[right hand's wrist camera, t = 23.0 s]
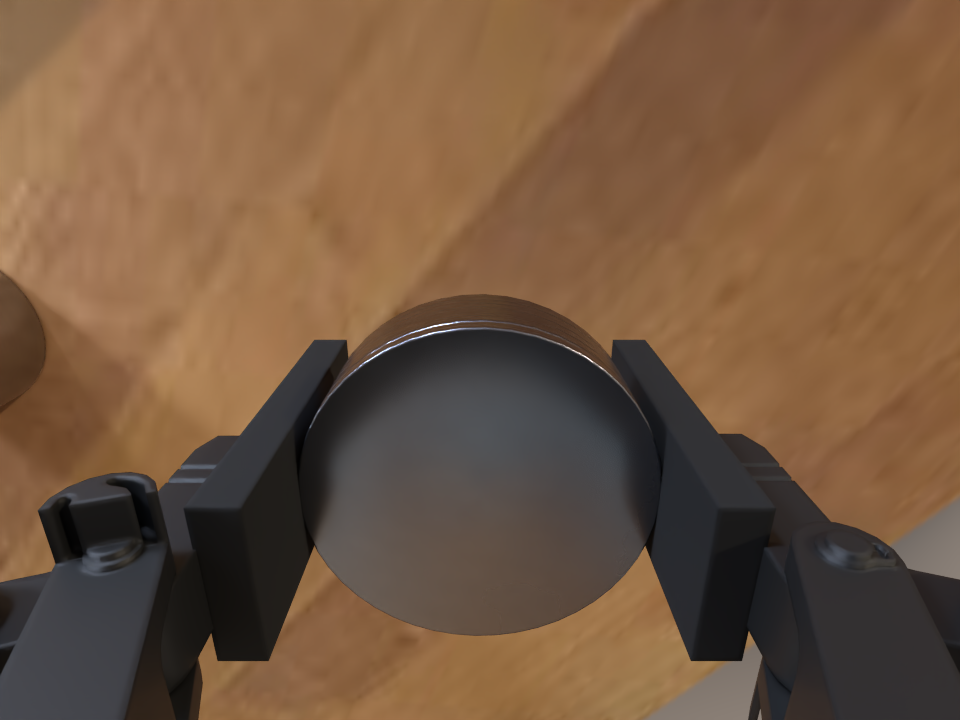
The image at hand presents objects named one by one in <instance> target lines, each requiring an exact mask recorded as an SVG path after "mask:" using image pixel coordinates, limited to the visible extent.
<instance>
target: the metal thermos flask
mask: <svg viewBox="0 0 960 720" xmlns="http://www.w3.org/2000/svg"><path fill="white" fill-rule="evenodd" d="M44 360H45V338H44V334H43V329H42V326H41V324H40V321H39V318H38V316H37V314H36V312H35V310H34V308H33V307H32V305H31V304H30V302H29V301H28V299H27V298H26V296H25V295H24V294H23V293H22V291H21V290H20V289H19V288H18V287H17V286H16V285H15V284H14V283H13V282H12V281H11V280H10V279H9V278H8V277H7V276H6V275H4V274H3V273H2V272H1V271H0V407H1V406H3V405H4V404H6V403H8V402H10V401H11V400H13V399H15V398H16V397H18V396H20V395H21V394H23V393H24V392H25V391H27V390H28V389H29V388H30V387H31V386H32V385H33V384H34V383H35V381H36V380H37V378H38V377H39V375H40V372H41V370H42V368H43V364H44Z"/></svg>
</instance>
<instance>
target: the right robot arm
mask: <svg viewBox="0 0 960 720" xmlns="http://www.w3.org/2000/svg"><path fill="white" fill-rule="evenodd" d="M611 359H612V360H613V362H614V364H615V365H616V367H617V369H618V370H619V372H620V374H621V376H622V377H623V379H624V381H625V383H626V384H627V386H628V388H629V390H630V391H631V393H632V395H633V397H634V398H635V400H636V402H637V404H638V405H639V407H640V409H641V411H642V412H643V414H644V416H645V418H646V419H647V421H648V423H649V425H650V428H651V431H652V433H653V436H654V438H655V441H656V444H657V449H658V453H659V458H660V462H661V490H660V498H659V505H658V512H657V517H656V521H655V524H654V527H653V529H652V532H651V534H650V536H649V539H648V541H647V543H646V545H645V546H646V549H647V551H648V554H649V556H650V559H651V561H652V564H653V566H654V569H655V571H656V574H657V576H658V579H659V581H660V584H661V586H662V589H663V591H664V594H665V596H666V599H667V602H668V604H669V607H670V609H671V612H672V614H673V617H674V619H675V622H676V624H677V627H678V629H679V632H680V634H681V637H682V639H683V642H684V644H685V647H686V649H687V652H688V655H689V657H690V660H691V661H742V658H743V654H744V649H745V645H746V640H747V636H748V632H750V634H751V636H752V637H753V639H754V641H755V643H756V645H757V647H758V649H759V650H760V652H761V654H762V660H761V665H760V669H759V673H758V677H757V681H756V685H755V689H754V694H753V698H752V702H751V706H750V712H749V718H748V720H757V719H758V715H759V711H760V709H761V715H762V720H960V580H959V579H954V578H949V577H944V576H939V575H934V574H929V573H924V572H919V571H915V570H911V569H907V567H906V565H905V563H904V562H903V560H902V559H901V558H900V557H899V555H898V554H897V553H896V552H895V550H894V549H892V548H891V547H889V546H888V545H887V544H885V543H884V542H883V541H881V540H880V539H878V538H877V537H875V536H873V535H870V534H868V533H866V532H864V531H862V530H860V529H857V528H854V527H851V526H847V525H843V524H840V523H836V522H831V521H830V520H829V519H828V518H827V517H826V516H825V515H824V514H823V512H822V511H821V510H820V509H819V508H818V507H817V506H816V505H815V504H814V502H813V501H812V500H811V499H810V498H809V497H808V496H807V495H806V493H805V492H804V491H803V490H802V489H801V488H800V487H799V486H798V484H797V483H796V482H795V481H791V477H790V475H789V474H788V473H787V472H786V471H785V470H784V469H783V468H782V467H779V463H778V462H777V461H776V460H775V459H774V458H773V456H772V455H771V454H770V453H769V452H768V451H767V450H766V449H765V448H764V447H763V446H761V445H759V444H758V443H756V442H754V441H753V440H751V439H749V438H748V437H746V436H744V435H743V434H718V433H717V432H716V430H715V429H714V428H713V426H712V425H711V424H710V423H709V421H708V420H707V419H706V417H705V416H704V415H703V414H702V412H701V411H700V410H699V408H698V407H697V406H696V405H695V403H694V402H693V401H692V399H691V398H690V397H689V396H688V394H687V393H686V392H685V390H684V389H683V388H682V387H681V385H680V384H679V383H678V382H677V380H676V379H675V378H674V376H673V375H672V374H671V373H670V371H669V370H668V369H667V367H666V366H665V365H664V364H663V362H662V361H661V360H660V358H659V357H658V356H657V355H656V353H655V352H654V351H653V349H652V348H651V347H650V346H649V344H648V343H647V342H646V341H645V340H613V346H612V357H611ZM347 360H348V350H347V340H314V341H313V343H312V344H311V345H310V346H309V348H308V349H307V350H306V352H305V353H304V354H303V355H302V357H301V358H300V359H299V361H298V362H297V363H296V364H295V366H294V367H293V368H292V370H291V371H290V372H289V373H288V375H287V376H286V377H285V378H284V380H283V381H282V382H281V384H280V385H279V386H278V387H277V389H276V390H275V391H274V393H273V394H272V395H271V396H270V398H269V399H268V400H267V402H266V403H265V404H264V405H263V407H262V408H261V409H260V410H259V412H258V413H257V414H256V416H255V417H254V418H253V419H252V421H251V422H250V423H249V425H248V426H247V427H246V428H245V430H244V431H243V432H242V434H241V435H240V436H217V437H216V438H214V439H212V440H211V441H209V442H207V443H206V444H204V445H202V446H201V447H199V448H197V449H196V450H195V451H194V452H193V453H192V454H191V455H190V456H189V457H188V458H187V460H186V461H185V462H184V463H183V464H182V465H181V469H178V470H177V471H176V472H175V473H174V474H173V475H172V477H171V478H170V479H169V483H165V484H164V486H163V487H162V488H161V489H160V490H159V491H157V487H156V483H155V481H154V480H152V479H151V478H150V477H148V476H147V475H144V474H138V473H132V472H127V473H111V474H107V475H103V476H98V477H94V478H90V479H87V480H84V481H82V482H79V483H77V484H74V485H72V486H69V487H67V488H65V489H64V490H62V491H61V492H59V493H57V494H56V495H54V496H52V497H51V498H49V499H48V500H47V501H46V502H45V503H44V505H43V506H42V507H41V508H40V509H39V510H38V513H39V516H40V519H41V522H42V525H43V528H44V531H45V533H46V536H47V539H48V542H49V545H50V548H51V551H52V554H53V557H54V560H55V563H56V564H55V566H54V568H53V570H52V571H51V572H48V573H44V574H39V575H34V576H29V577H24V578H19V579H15V580H10V581H5V582H0V720H198V716H199V708H200V700H201V692H202V684H203V682H202V675H201V669H200V665H199V660H198V657H199V655H200V653H201V651H202V649H203V647H204V645H205V643H206V642H207V640H208V638H209V636H210V634H211V633H212V638H213V642H214V647H215V651H216V656H217V660H218V661H269V659H270V656H271V654H272V651H273V649H274V646H275V643H276V641H277V638H278V636H279V633H280V631H281V628H282V626H283V623H284V621H285V618H286V616H287V613H288V611H289V608H290V606H291V603H292V601H293V598H294V596H295V593H296V591H297V588H298V585H299V583H300V580H301V578H302V575H303V573H304V570H305V568H306V565H307V563H308V560H309V558H310V555H311V553H312V550H313V548H314V543H313V541H312V539H311V537H310V535H309V533H308V530H307V527H306V524H305V521H304V519H303V514H302V507H301V500H300V493H299V485H298V470H299V462H300V455H301V450H302V447H303V444H304V440H305V437H306V434H307V431H308V429H309V427H310V425H311V423H312V421H313V419H314V417H315V415H316V413H317V411H318V409H319V407H320V406H321V404H322V402H323V400H324V399H325V397H326V395H327V394H328V392H329V390H330V388H331V387H332V385H333V383H334V381H335V380H336V378H337V376H338V374H339V373H340V371H341V369H342V368H343V366H344V365H345V363H346V362H347Z"/></svg>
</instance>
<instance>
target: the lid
mask: <svg viewBox="0 0 960 720" xmlns="http://www.w3.org/2000/svg"><path fill="white" fill-rule="evenodd" d="M298 485H299V493H300V500H301V507H302V514H303V519H304V521H305V524H306V527H307V530H308V533H309V535H310V537H311V539H312V541H313V543H314V545H315V547H316V549H317V551H318V553H319V554H320V555H321V557H322V558H323V560H324V561H325V563H326V564H327V566H328V567H329V568H330V569H331V570H332V572H333V573H334V574H335V575H336V576H337V577H338V578H339V579H340V580H341V582H342V583H343V584H345V585H346V586H347V587H348V588H349V589H350V590H352V591H353V592H354V593H355V594H356V595H357V596H359V597H360V598H362V599H363V600H365V601H366V602H368V603H369V604H371V605H372V606H373V607H375V608H377V609H379V610H381V611H383V612H384V613H386V614H388V615H390V616H392V617H394V618H397V619H399V620H402V621H404V622H407V623H409V624H412V625H415V626H419V627H422V628H426V629H429V630H433V631H439V632H445V633H450V634H459V635H473V636H480V635H501V634H509V633H517V632H521V631H526V630H530V629H534V628H538V627H541V626H544V625H547V624H550V623H553V622H556V621H559V620H561V619H563V618H565V617H567V616H569V615H571V614H574V613H576V612H578V611H579V610H581V609H583V608H584V607H586V606H588V605H589V604H591V603H593V602H594V601H595V600H597V599H598V598H599V597H601V596H602V595H603V594H605V593H606V592H607V591H608V590H610V589H611V588H612V587H613V586H614V585H615V584H616V583H617V582H618V581H619V580H620V579H621V578H622V577H623V576H624V575H625V574H626V573H627V571H628V570H629V569H630V567H631V566H632V565H633V564H634V562H635V561H636V560H637V558H638V557H639V555H640V553H641V552H642V550H643V548H644V547H645V545H646V543H647V541H648V539H649V536H650V534H651V532H652V529H653V527H654V524H655V521H656V517H657V512H658V505H659V498H660V490H661V462H660V458H659V453H658V449H657V444H656V441H655V438H654V436H653V433H652V431H651V428H650V425H649V423H648V421H647V419H646V418H645V416H644V414H643V412H642V411H641V409H640V407H639V405H638V404H637V402H636V400H635V398H634V397H633V395H632V393H631V391H630V390H629V388H628V386H627V384H626V383H625V381H624V379H623V377H622V376H621V374H620V372H619V370H618V369H617V367H616V365H615V364H614V362H613V360H612V359H611V358H610V356H609V355H608V354H607V353H606V351H605V350H604V349H603V348H602V346H601V345H600V344H599V343H598V342H597V341H596V340H595V339H594V338H593V337H591V336H590V335H589V334H588V333H587V332H586V331H585V330H584V329H582V328H581V327H579V326H578V325H577V324H575V323H574V322H572V321H571V320H570V319H568V318H566V317H564V316H562V315H560V314H558V313H557V312H555V311H553V310H551V309H549V308H546V307H543V306H541V305H538V304H535V303H532V302H530V301H526V300H521V299H517V298H512V297H508V296H498V295H487V294H479V295H460V296H454V297H448V298H442V299H438V300H434V301H431V302H428V303H424V304H421V305H418V306H416V307H414V308H412V309H409V310H407V311H405V312H403V313H400V314H399V315H397V316H396V317H394V318H392V319H391V320H389V321H387V322H386V323H384V324H383V325H381V326H380V327H379V328H378V329H376V330H375V331H374V332H373V333H372V334H370V335H369V336H368V337H367V338H366V339H365V340H364V341H363V342H362V343H361V344H360V345H359V346H358V347H357V349H356V350H355V351H354V352H353V353H352V354H351V356H350V357H349V359H348V360H347V362H346V363H345V365H344V366H343V368H342V369H341V371H340V373H339V374H338V376H337V378H336V380H335V381H334V383H333V385H332V387H331V388H330V390H329V392H328V394H327V395H326V397H325V399H324V400H323V402H322V404H321V406H320V407H319V409H318V411H317V413H316V415H315V417H314V419H313V421H312V423H311V425H310V427H309V429H308V431H307V434H306V437H305V440H304V444H303V447H302V450H301V455H300V462H299V470H298Z"/></svg>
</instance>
